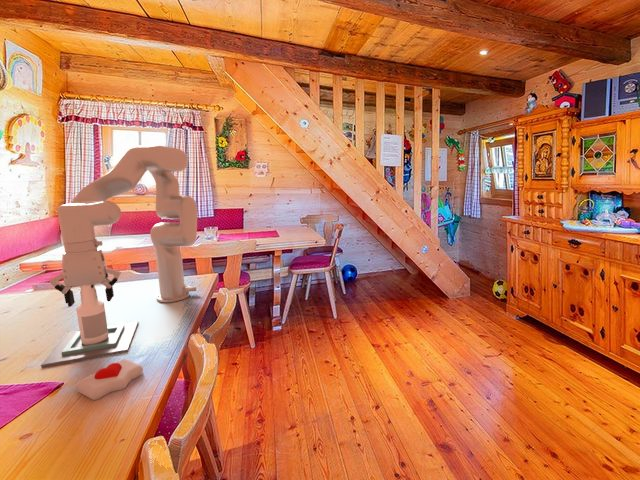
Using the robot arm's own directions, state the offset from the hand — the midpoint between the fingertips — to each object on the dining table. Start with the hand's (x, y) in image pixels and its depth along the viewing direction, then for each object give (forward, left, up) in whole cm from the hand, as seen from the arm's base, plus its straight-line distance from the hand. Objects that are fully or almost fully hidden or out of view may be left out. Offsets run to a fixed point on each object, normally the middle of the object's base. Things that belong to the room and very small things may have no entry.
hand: (91, 302), depth 95 cm
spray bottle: (0, 0, -12) cm, 12 cm away
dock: (0, 0, -13) cm, 13 cm away
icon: (-9, +25, -14) cm, 30 cm away
